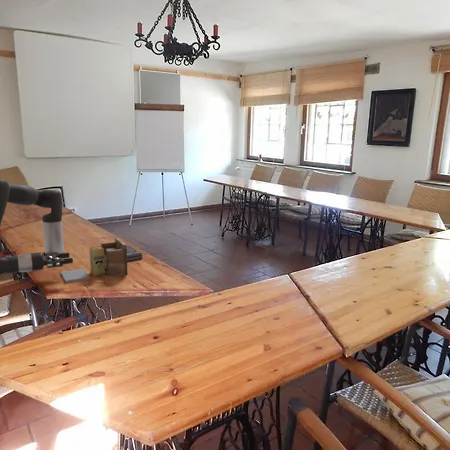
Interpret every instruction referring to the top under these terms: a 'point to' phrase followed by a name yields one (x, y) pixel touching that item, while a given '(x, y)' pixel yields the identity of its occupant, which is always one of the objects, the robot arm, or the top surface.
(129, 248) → the box
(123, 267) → the offcut rack
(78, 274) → the rubber mat
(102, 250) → the shoe polish box
